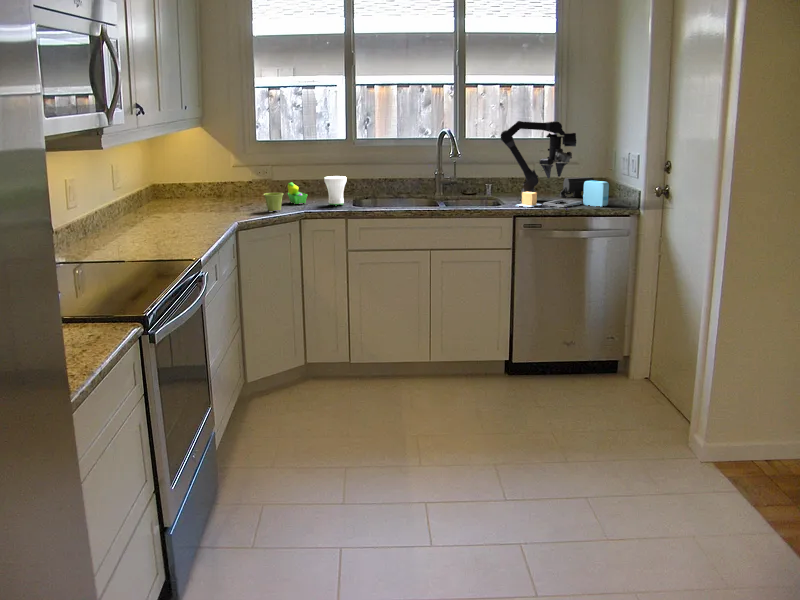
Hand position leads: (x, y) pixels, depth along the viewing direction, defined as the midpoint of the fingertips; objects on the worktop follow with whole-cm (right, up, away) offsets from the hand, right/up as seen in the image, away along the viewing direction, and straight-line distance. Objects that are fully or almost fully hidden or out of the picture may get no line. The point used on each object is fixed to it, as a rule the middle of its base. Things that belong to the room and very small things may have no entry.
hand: (553, 177), depth 397 cm
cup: (-112, -15, -2) cm, 113 cm away
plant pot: (-140, -20, -20) cm, 143 cm away
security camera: (+15, -8, +17) cm, 24 cm away
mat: (-15, -16, -12) cm, 25 cm away
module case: (+2, -15, -11) cm, 19 cm away
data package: (+18, -16, -14) cm, 28 cm away
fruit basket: (-133, -13, +5) cm, 133 cm away
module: (-15, -15, -12) cm, 25 cm away
